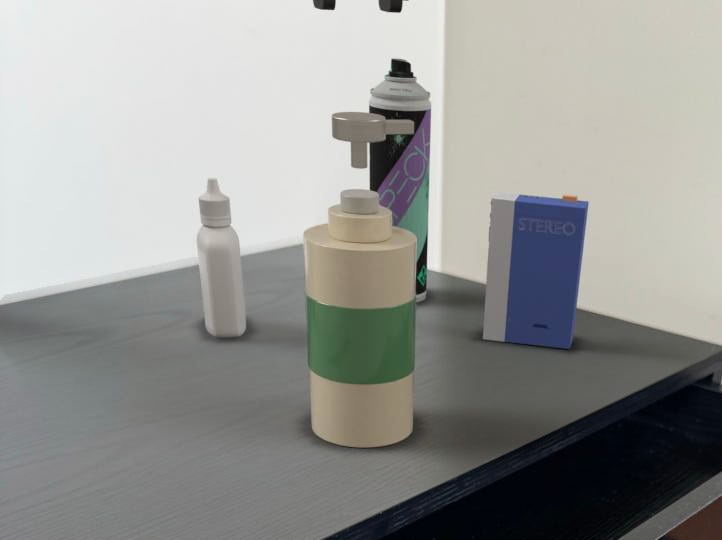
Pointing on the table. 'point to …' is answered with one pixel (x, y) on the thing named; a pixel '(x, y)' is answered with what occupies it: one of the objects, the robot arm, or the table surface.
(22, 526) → the table surface
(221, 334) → the eye dropper bottle
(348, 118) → the pump
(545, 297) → the walkman
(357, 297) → the soap bottle
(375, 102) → the spray can
